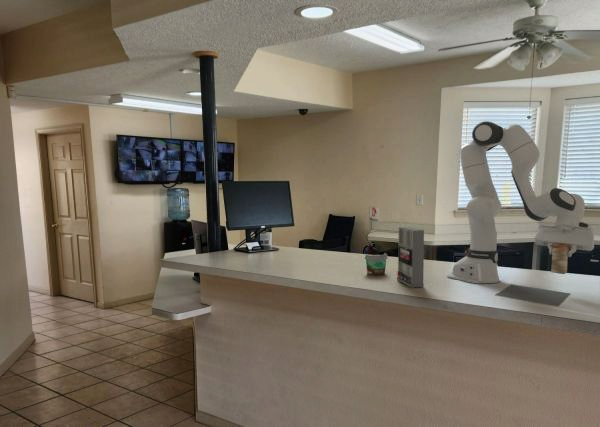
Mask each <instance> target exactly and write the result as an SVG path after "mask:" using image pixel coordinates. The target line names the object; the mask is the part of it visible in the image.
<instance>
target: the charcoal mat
mask: <svg viewBox="0 0 600 427" xmlns="http://www.w3.org/2000/svg"><path fill="white" fill-rule="evenodd" d="M570 295H571V293H570V292H563V291H558V290H550V289H544V288H536V287H530V286H524V285H518V284H510V285H508V286H506V287H505V288H503V289H502V290H500V291H499V292H497V293H495V294H494V296H495V297H503V298H507V299H514V300H520V301H526V302H532V303H535V304H536V303H537V304H541V305H542V304H543V305H548V306H554V307H560V306H561V305H562V303H564V301H565V300H566V299H567V298H568V297H569V296H570Z"/></svg>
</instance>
